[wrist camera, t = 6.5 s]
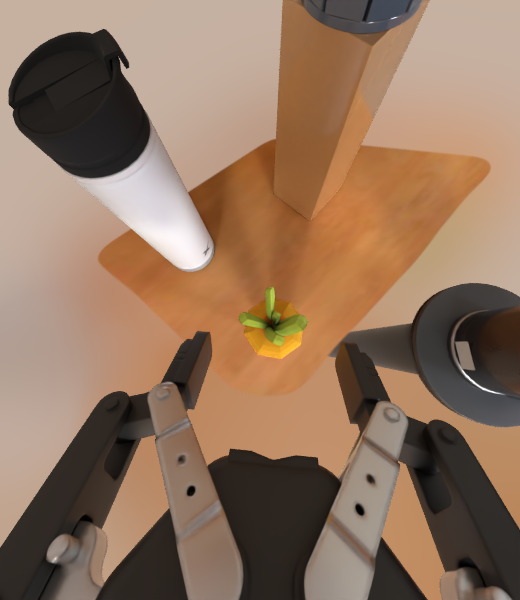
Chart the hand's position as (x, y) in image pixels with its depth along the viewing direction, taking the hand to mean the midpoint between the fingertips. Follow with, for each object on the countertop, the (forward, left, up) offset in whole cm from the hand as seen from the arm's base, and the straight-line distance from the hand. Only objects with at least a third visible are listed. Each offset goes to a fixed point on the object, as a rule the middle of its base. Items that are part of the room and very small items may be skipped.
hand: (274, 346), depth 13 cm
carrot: (+1, -1, -14) cm, 14 cm away
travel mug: (+16, -3, -14) cm, 22 cm away
